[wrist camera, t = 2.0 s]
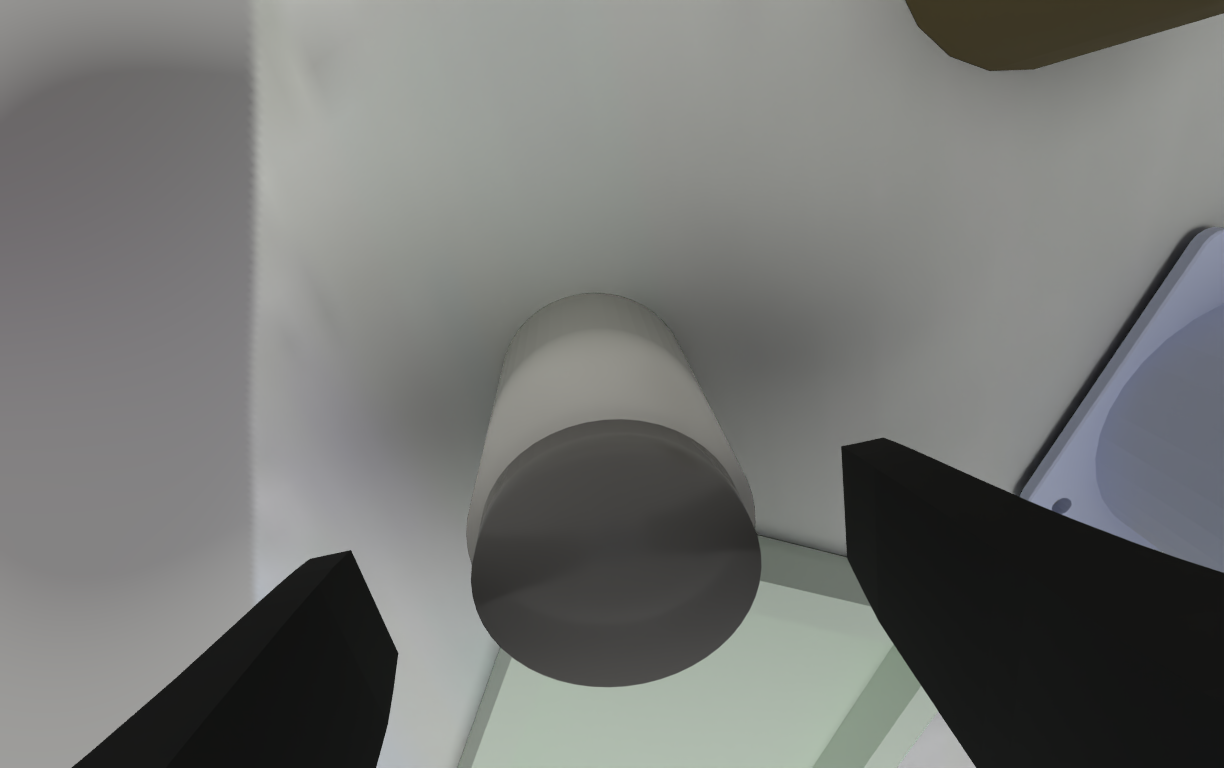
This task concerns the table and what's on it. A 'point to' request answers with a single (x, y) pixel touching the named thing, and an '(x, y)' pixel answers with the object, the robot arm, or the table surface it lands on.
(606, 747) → the tray
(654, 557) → the salt shaker
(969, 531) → the robot arm
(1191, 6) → the cork
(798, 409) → the table surface
